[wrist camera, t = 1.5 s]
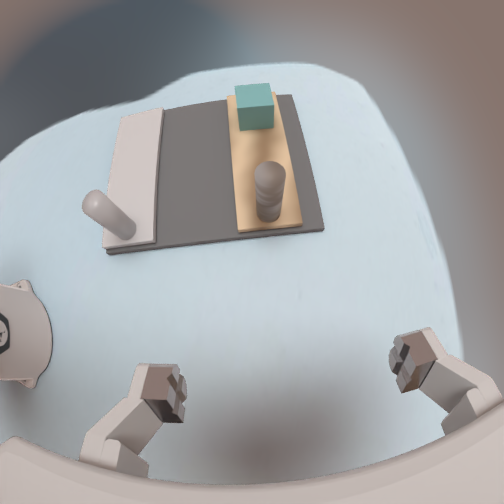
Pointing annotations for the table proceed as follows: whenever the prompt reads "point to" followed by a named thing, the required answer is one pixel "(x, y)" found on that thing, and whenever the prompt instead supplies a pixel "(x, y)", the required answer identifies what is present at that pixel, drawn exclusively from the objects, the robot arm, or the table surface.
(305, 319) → the table surface
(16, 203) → the table surface
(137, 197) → the pale board with post
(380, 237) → the table surface
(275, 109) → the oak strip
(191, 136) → the lane mat
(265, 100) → the teal block
